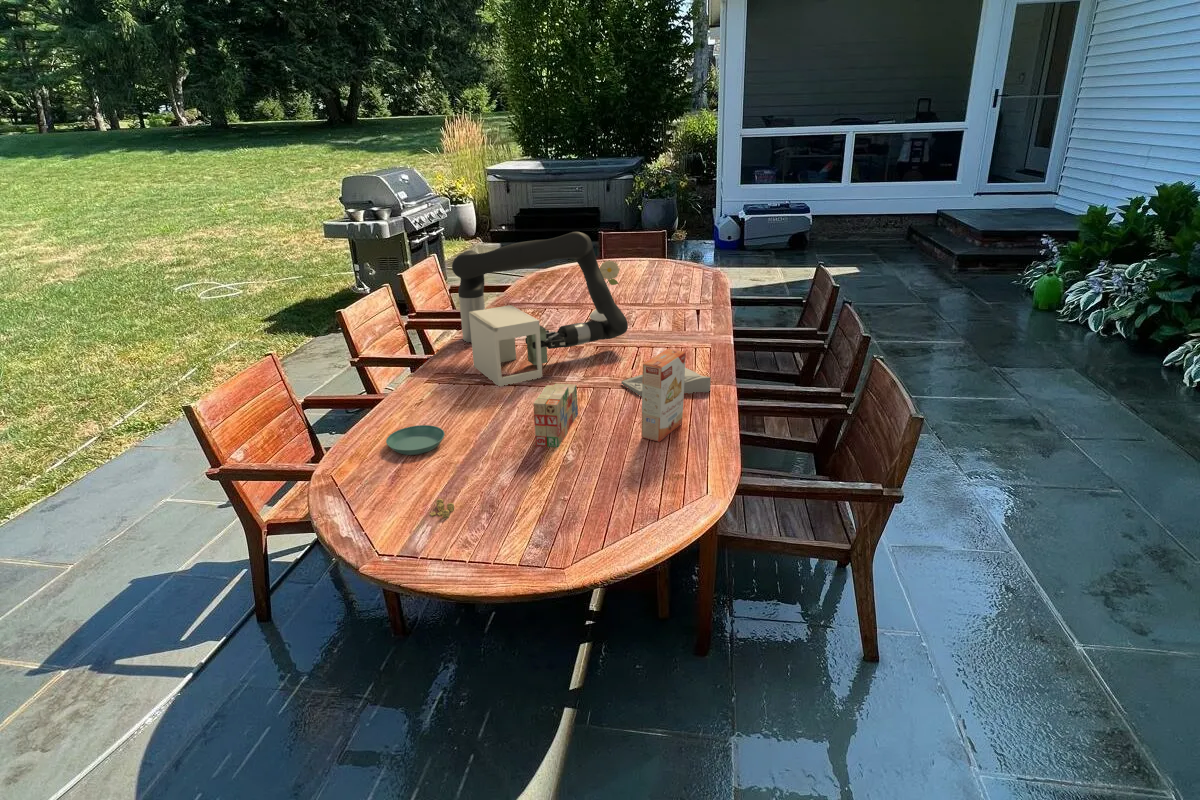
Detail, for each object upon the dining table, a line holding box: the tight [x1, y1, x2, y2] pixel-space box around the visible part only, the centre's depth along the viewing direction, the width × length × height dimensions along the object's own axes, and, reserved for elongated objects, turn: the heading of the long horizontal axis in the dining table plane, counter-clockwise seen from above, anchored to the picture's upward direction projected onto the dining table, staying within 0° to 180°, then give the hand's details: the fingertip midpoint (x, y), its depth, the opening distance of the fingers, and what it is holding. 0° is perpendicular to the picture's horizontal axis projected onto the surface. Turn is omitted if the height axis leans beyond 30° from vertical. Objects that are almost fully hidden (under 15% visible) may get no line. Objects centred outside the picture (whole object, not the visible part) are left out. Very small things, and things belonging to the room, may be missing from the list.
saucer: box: [385, 424, 446, 456], centre depth 174 cm, size 15×15×3 cm
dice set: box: [429, 498, 455, 519], centre depth 144 cm, size 5×5×2 cm
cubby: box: [469, 304, 543, 387], centre depth 220 cm, size 22×15×19 cm
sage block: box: [525, 325, 549, 366], centre depth 226 cm, size 5×5×12 cm
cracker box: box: [640, 348, 687, 443], centre depth 175 cm, size 14×6×21 cm, turn 148°
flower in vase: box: [589, 260, 621, 322], centre depth 273 cm, size 13×11×25 cm
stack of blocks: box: [532, 383, 579, 448], centre depth 179 cm, size 21×6×12 cm, turn 168°
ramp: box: [620, 367, 712, 397], centre depth 207 cm, size 28×16×5 cm, turn 78°
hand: (529, 343), depth 224 cm, fingers closed on sage block, 5 cm apart
